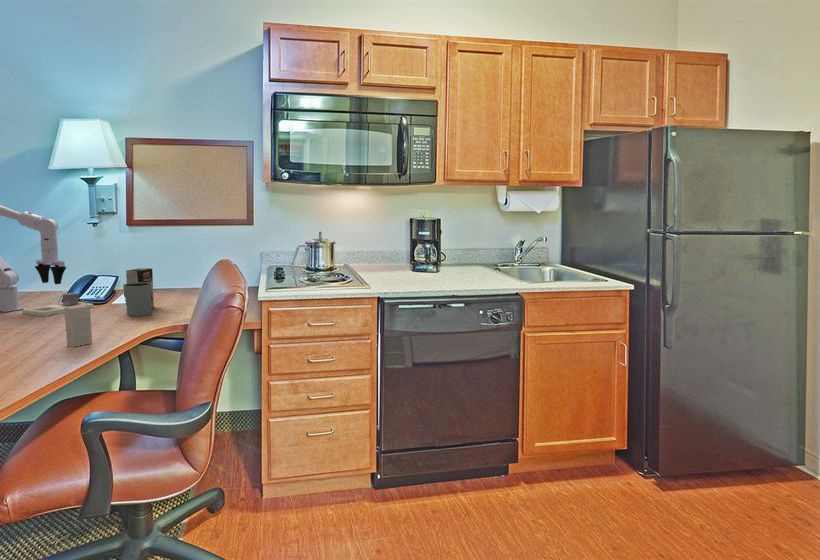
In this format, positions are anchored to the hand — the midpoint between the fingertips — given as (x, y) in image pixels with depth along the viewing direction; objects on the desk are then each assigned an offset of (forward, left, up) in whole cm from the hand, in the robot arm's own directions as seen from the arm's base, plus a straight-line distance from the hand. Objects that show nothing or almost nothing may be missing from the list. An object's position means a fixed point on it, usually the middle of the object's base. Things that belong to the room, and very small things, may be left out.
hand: (51, 283), depth 261 cm
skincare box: (+63, -36, -11) cm, 73 cm away
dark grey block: (+5, +4, -10) cm, 12 cm away
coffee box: (+29, +18, -11) cm, 36 cm away
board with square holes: (+5, -1, -10) cm, 12 cm away
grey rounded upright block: (+39, +8, -11) cm, 41 cm away
